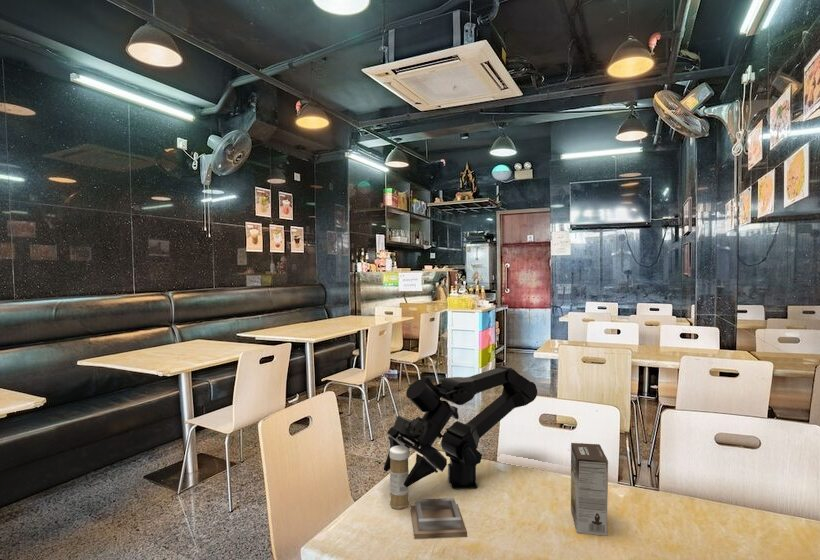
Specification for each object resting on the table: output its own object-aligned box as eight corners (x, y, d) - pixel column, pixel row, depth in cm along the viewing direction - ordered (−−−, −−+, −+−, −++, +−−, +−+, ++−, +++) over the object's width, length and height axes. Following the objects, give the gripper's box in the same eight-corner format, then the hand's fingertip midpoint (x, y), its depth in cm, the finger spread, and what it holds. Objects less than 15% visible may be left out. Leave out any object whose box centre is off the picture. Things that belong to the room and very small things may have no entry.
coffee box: (569, 510, 102) (570, 441, 102) (599, 513, 101) (599, 443, 100) (576, 533, 93) (576, 457, 93) (608, 537, 92) (609, 460, 91)
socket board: (457, 508, 103) (457, 495, 103) (467, 536, 92) (467, 522, 92) (410, 510, 102) (410, 497, 102) (414, 538, 91) (414, 524, 91)
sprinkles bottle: (405, 498, 107) (405, 443, 107) (411, 508, 103) (411, 451, 103) (387, 501, 106) (387, 445, 106) (392, 511, 102) (392, 453, 101)
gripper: (393, 394, 114) (354, 446, 108) (436, 413, 98) (394, 475, 93) (418, 419, 118) (383, 470, 113) (463, 441, 103) (424, 502, 97)
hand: (394, 478), depth 104 cm, fingers open, 9 cm apart
